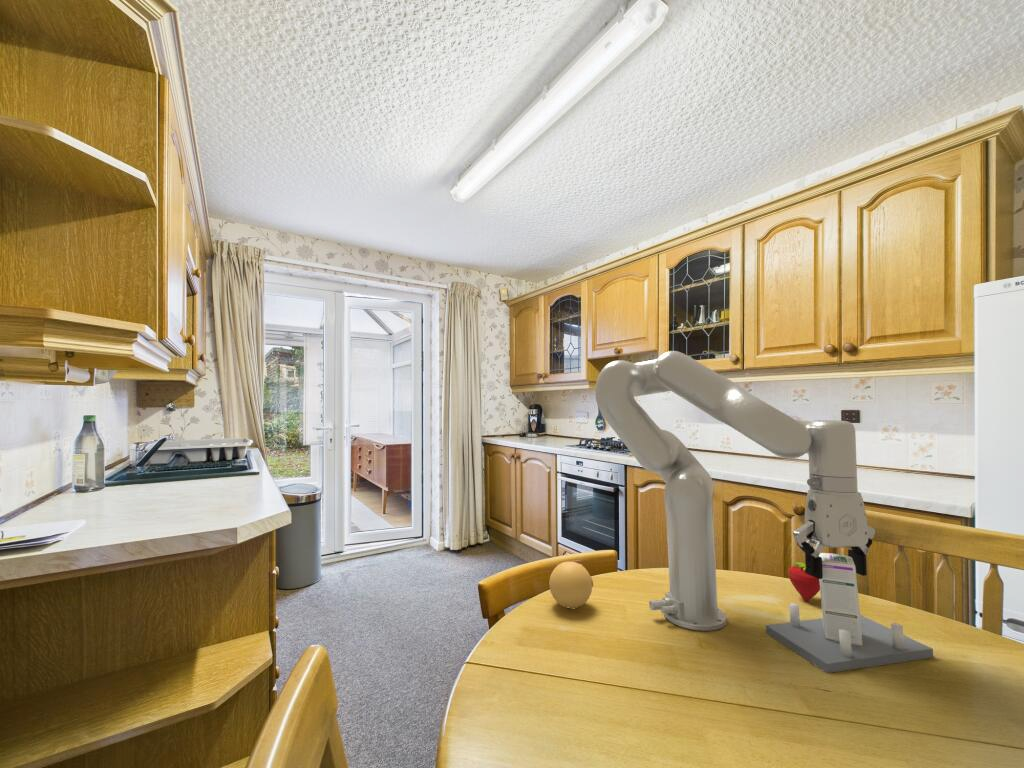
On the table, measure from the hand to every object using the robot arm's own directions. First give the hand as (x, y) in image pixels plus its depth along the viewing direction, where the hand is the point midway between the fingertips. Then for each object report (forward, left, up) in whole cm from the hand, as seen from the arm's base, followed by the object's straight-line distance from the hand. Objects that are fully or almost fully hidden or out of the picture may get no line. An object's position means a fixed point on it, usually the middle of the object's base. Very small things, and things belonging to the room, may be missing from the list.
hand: (836, 574), depth 84 cm
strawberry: (+10, +18, -13) cm, 24 cm away
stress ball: (-44, +27, -13) cm, 53 cm away
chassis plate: (+1, 0, -13) cm, 13 cm away
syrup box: (0, 0, -11) cm, 11 cm away
